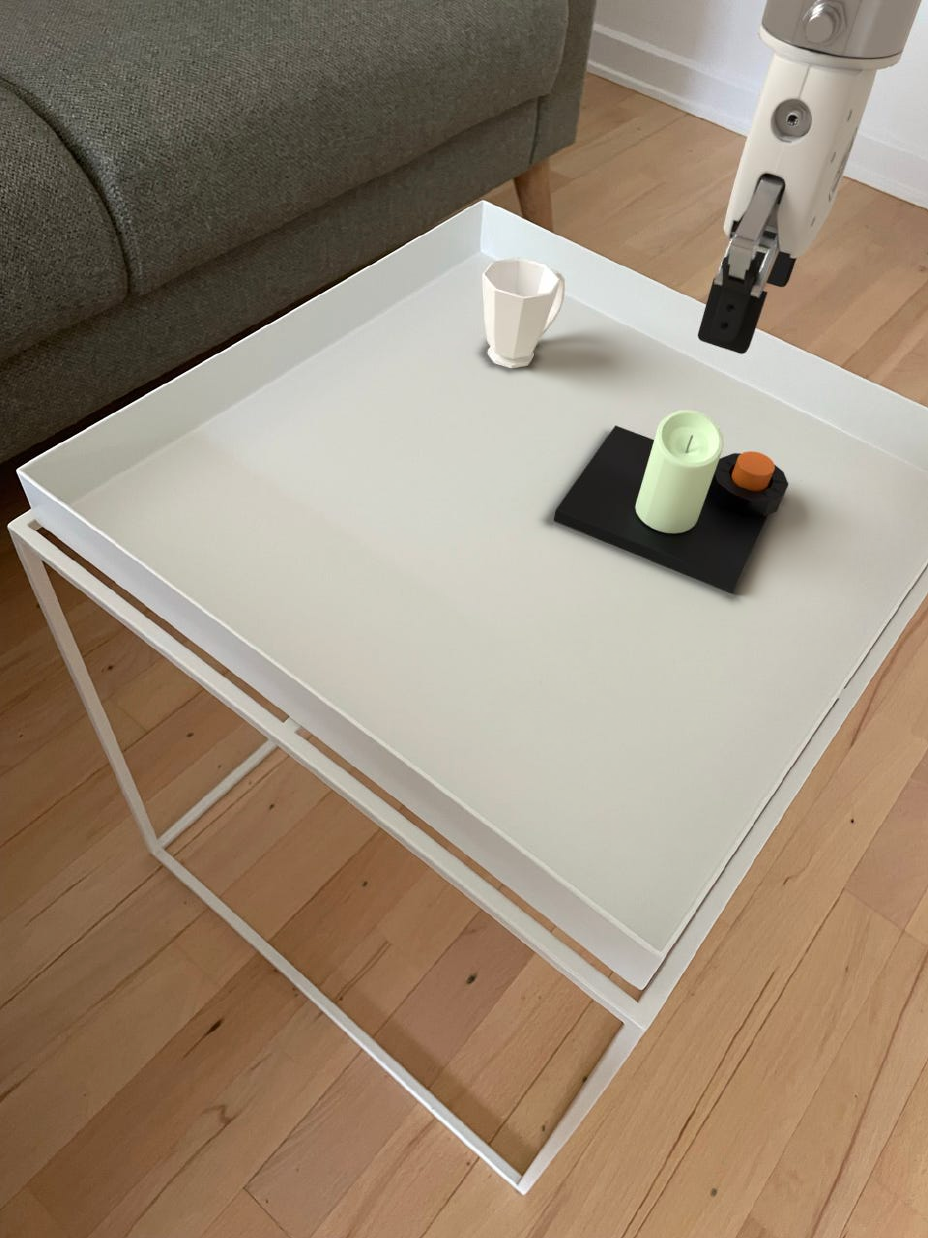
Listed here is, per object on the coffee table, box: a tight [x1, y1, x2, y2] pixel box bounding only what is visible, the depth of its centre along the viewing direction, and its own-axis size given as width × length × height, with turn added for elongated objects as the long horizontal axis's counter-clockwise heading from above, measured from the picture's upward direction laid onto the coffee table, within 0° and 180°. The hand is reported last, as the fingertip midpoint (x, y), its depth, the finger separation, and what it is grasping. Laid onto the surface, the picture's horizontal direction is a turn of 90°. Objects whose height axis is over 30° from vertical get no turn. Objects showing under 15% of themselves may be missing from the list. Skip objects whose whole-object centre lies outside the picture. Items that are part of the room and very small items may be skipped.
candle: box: [635, 409, 725, 533], centre depth 75 cm, size 5×5×8 cm
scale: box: [553, 424, 789, 594], centre depth 79 cm, size 16×13×3 cm
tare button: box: [732, 450, 776, 491], centre depth 79 cm, size 3×3×2 cm
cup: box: [481, 257, 566, 369], centre depth 91 cm, size 7×10×8 cm
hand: (743, 310), depth 64 cm, fingers open, 9 cm apart
